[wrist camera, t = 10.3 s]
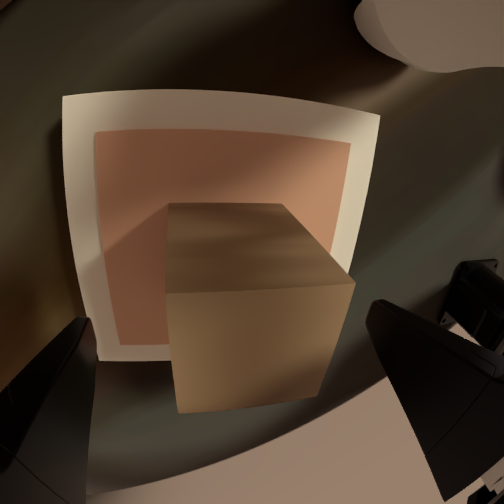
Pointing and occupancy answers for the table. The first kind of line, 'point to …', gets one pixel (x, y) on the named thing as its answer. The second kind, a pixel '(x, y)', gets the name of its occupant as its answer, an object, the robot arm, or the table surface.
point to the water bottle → (435, 32)
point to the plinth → (196, 188)
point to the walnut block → (249, 306)
